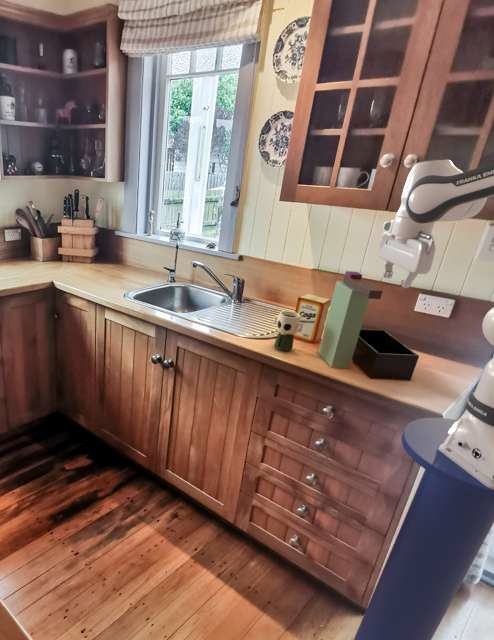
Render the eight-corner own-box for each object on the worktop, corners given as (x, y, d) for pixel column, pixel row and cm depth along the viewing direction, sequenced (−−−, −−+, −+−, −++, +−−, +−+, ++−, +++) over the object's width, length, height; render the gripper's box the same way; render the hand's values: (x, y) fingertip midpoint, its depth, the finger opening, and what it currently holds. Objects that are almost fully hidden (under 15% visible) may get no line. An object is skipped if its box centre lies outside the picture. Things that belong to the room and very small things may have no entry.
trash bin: (410, 380, 147) (419, 355, 143) (370, 378, 147) (378, 353, 143) (377, 352, 167) (384, 330, 163) (342, 350, 167) (348, 328, 163)
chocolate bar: (380, 299, 134) (384, 287, 133) (367, 298, 134) (371, 286, 133) (354, 282, 151) (357, 271, 149) (342, 282, 151) (345, 271, 149)
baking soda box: (320, 339, 176) (331, 298, 169) (314, 343, 171) (324, 302, 164) (296, 332, 181) (305, 292, 174) (289, 336, 177) (298, 296, 170)
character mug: (263, 346, 167) (270, 311, 162) (275, 341, 172) (282, 308, 166) (290, 356, 160) (298, 320, 154) (301, 351, 164) (310, 316, 158)
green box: (349, 368, 153) (371, 291, 142) (331, 367, 153) (352, 290, 142) (335, 353, 164) (355, 281, 152) (318, 352, 164) (336, 280, 152)
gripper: (449, 236, 109) (429, 294, 115) (403, 223, 127) (389, 273, 133) (422, 235, 109) (404, 293, 115) (380, 222, 127) (366, 272, 133)
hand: (395, 282), depth 124 cm, fingers open, 8 cm apart
